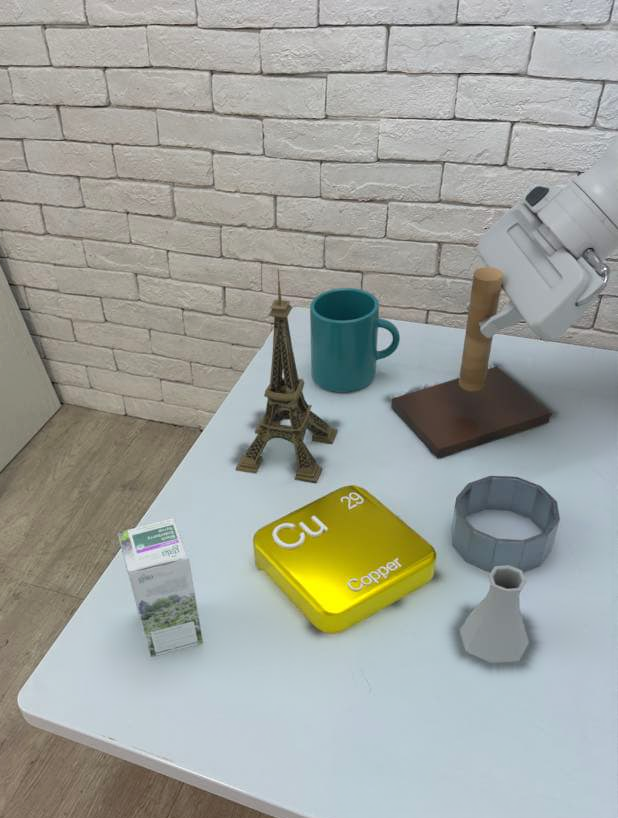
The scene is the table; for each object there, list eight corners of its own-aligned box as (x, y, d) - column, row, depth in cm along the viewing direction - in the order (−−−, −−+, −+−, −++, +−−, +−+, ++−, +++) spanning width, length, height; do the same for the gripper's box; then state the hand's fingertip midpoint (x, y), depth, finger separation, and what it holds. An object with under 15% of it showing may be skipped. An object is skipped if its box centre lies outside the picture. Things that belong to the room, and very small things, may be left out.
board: (495, 375, 110) (496, 365, 109) (549, 422, 102) (551, 412, 101) (390, 407, 108) (391, 398, 107) (438, 458, 99) (439, 449, 98)
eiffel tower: (235, 470, 102) (215, 289, 84) (261, 420, 109) (247, 243, 91) (316, 483, 99) (312, 297, 81) (337, 431, 105) (338, 249, 88)
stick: (475, 374, 103) (492, 264, 92) (489, 386, 101) (508, 276, 90) (453, 380, 102) (468, 271, 92) (467, 393, 100) (484, 283, 90)
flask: (528, 681, 76) (549, 615, 69) (450, 667, 78) (461, 600, 71) (532, 623, 80) (551, 555, 73) (458, 610, 83) (469, 543, 75)
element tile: (327, 648, 81) (327, 618, 78) (248, 560, 91) (244, 531, 87) (441, 583, 85) (446, 552, 82) (354, 506, 95) (355, 475, 92)
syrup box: (192, 610, 86) (173, 513, 76) (206, 652, 82) (188, 555, 72) (141, 624, 86) (115, 528, 75) (152, 667, 82) (126, 571, 71)
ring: (511, 505, 92) (520, 465, 88) (567, 563, 85) (580, 523, 81) (433, 532, 91) (437, 493, 86) (483, 594, 84) (492, 555, 79)
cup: (397, 395, 109) (402, 321, 102) (309, 394, 112) (307, 322, 104) (397, 358, 116) (402, 286, 108) (313, 358, 118) (312, 288, 110)
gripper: (633, 293, 82) (522, 384, 90) (557, 211, 97) (466, 295, 104) (600, 258, 79) (488, 355, 86) (527, 178, 94) (436, 268, 101)
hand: (476, 322), depth 95 cm, fingers closed on stick, 3 cm apart
